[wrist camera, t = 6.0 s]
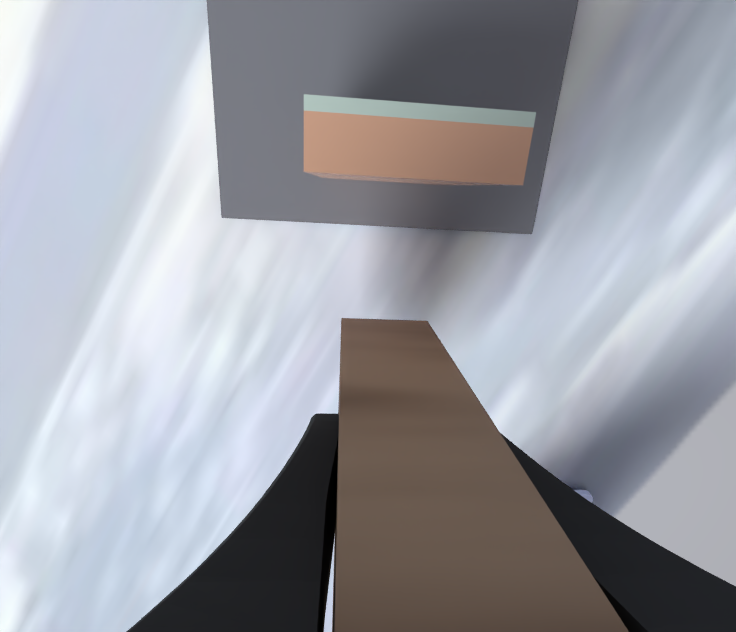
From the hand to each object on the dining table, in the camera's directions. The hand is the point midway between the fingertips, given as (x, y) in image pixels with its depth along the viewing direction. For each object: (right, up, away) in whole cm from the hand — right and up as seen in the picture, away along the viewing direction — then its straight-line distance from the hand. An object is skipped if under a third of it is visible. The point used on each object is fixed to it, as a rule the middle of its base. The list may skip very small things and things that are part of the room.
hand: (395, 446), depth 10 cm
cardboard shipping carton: (0, +1, +4) cm, 4 cm away
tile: (0, +10, +5) cm, 11 cm away
